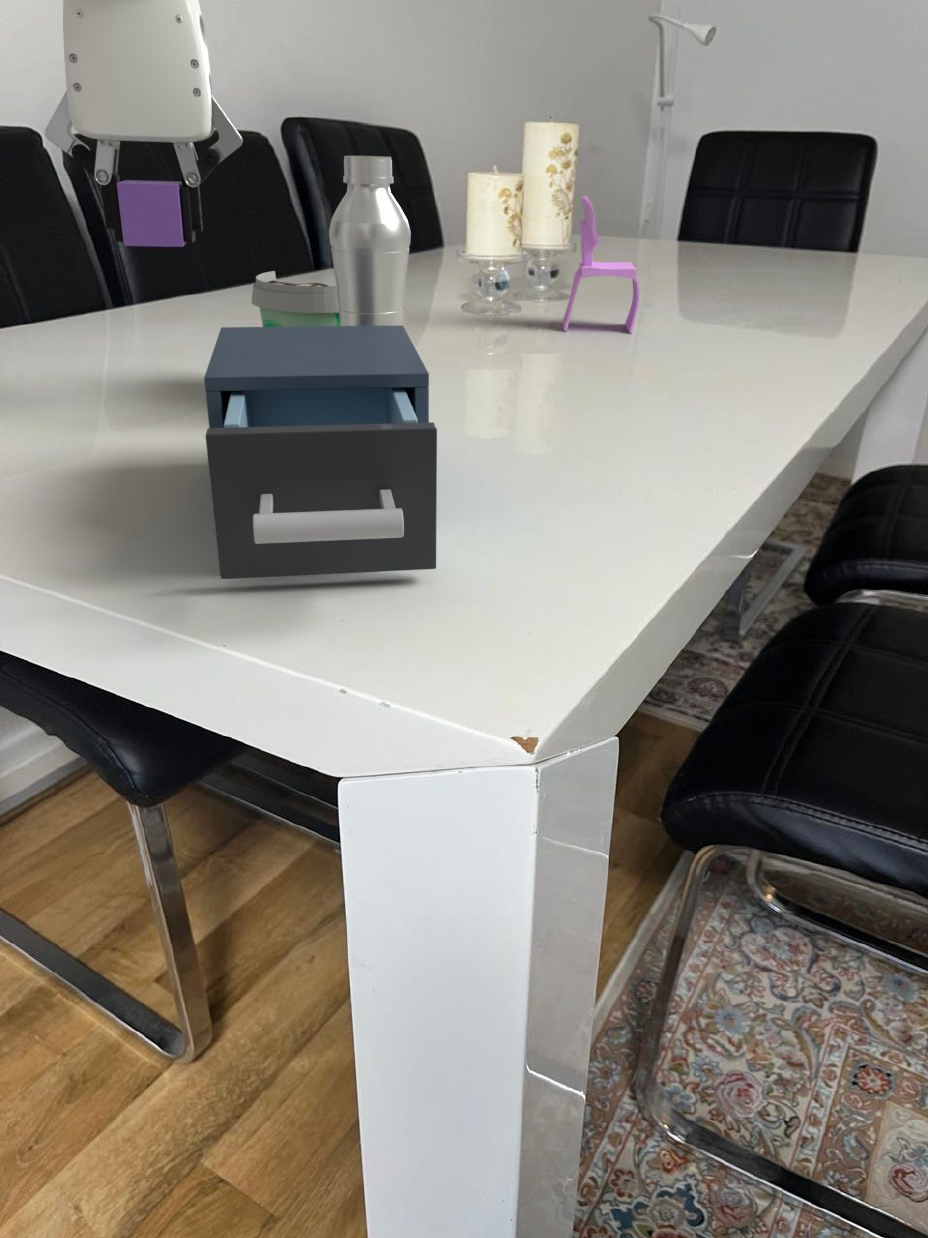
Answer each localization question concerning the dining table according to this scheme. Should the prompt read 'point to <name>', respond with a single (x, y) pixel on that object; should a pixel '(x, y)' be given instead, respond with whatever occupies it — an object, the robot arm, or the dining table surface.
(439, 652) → the dining table surface
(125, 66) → the robot arm
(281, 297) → the food container
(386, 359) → the drawer cabinet
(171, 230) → the purple cube
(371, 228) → the silver tall bottle
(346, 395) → the dark grey drawer
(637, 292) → the toy chair
